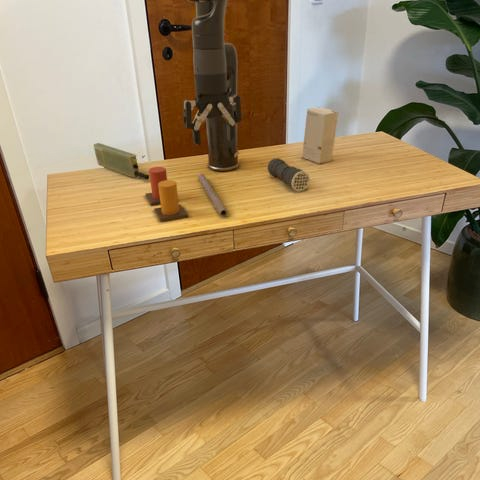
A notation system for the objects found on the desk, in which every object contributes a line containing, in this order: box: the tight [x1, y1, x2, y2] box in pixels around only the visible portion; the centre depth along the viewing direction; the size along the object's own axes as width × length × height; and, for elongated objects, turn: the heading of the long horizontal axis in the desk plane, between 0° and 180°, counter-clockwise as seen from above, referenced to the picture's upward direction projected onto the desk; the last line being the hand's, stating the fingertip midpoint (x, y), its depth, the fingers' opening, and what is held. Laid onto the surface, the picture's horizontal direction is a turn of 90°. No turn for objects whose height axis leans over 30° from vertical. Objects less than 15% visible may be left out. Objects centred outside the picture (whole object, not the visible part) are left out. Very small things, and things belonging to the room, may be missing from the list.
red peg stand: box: [145, 166, 168, 206], centre depth 122 cm, size 7×7×8 cm
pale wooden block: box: [301, 106, 339, 165], centre depth 143 cm, size 8×6×15 cm
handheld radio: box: [93, 142, 150, 180], centre depth 140 cm, size 7×3×25 cm
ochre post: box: [153, 179, 189, 223], centre depth 114 cm, size 7×7×8 cm
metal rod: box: [197, 173, 229, 218], centre depth 124 cm, size 2×27×2 cm, turn 16°
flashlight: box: [267, 157, 310, 193], centre depth 130 cm, size 15×5×5 cm, turn 25°
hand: (214, 142), depth 115 cm, fingers open, 8 cm apart
